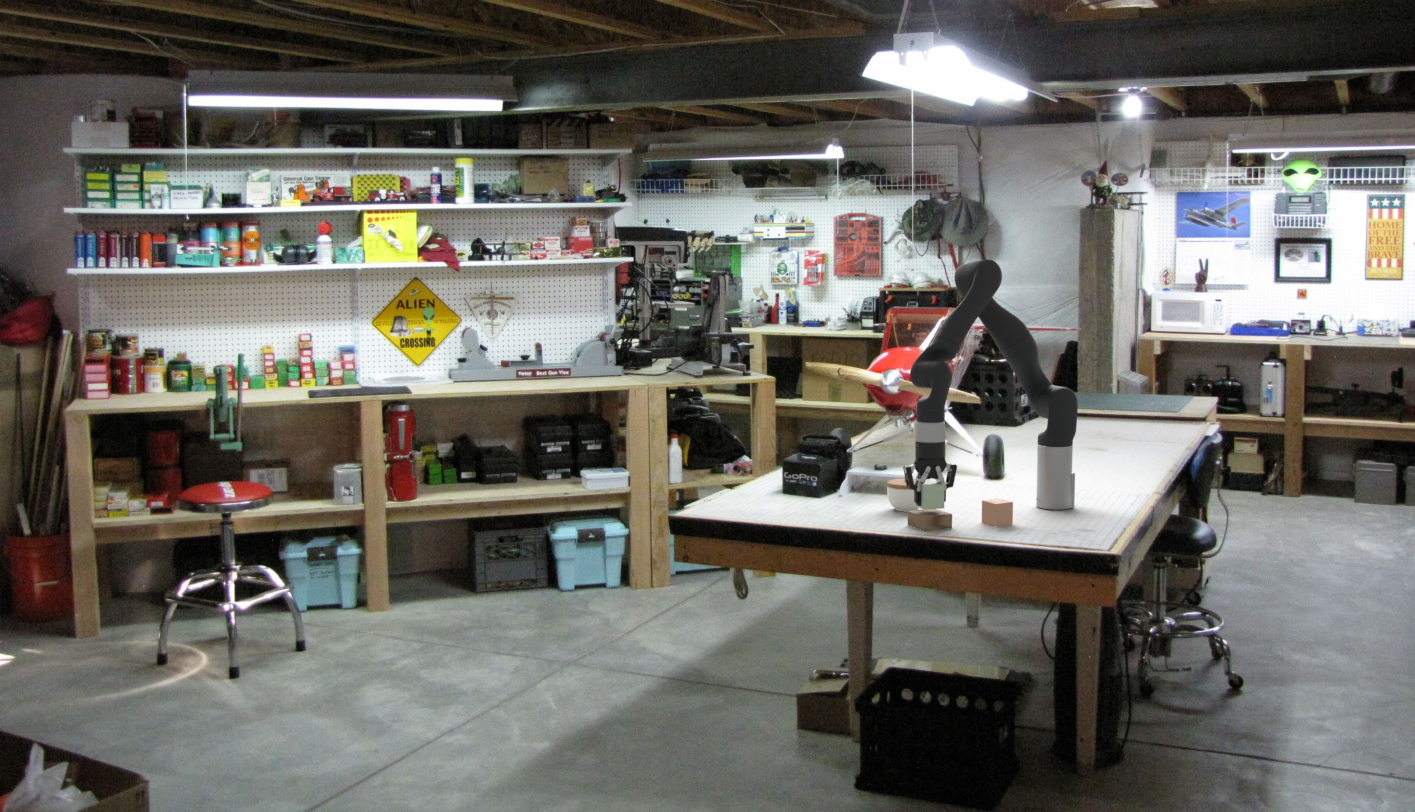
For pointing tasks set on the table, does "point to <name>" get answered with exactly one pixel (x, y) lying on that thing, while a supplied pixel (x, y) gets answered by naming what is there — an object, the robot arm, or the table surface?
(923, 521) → the walnut base
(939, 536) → the table surface
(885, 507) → the table surface
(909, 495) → the lidded jar
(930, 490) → the sage block
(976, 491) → the table surface
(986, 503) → the terracotta block
